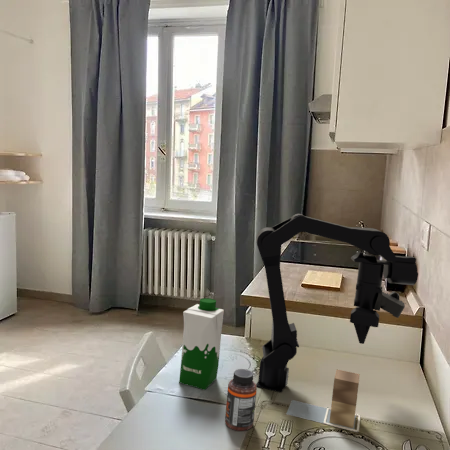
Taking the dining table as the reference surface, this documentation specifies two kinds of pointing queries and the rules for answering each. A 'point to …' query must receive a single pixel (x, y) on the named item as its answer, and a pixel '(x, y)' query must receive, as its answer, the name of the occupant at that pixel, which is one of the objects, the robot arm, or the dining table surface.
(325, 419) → the outline
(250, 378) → the supplement bottle
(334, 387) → the walnut block
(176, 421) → the dining table surface
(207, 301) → the milk carton
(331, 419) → the oak block
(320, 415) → the mat
